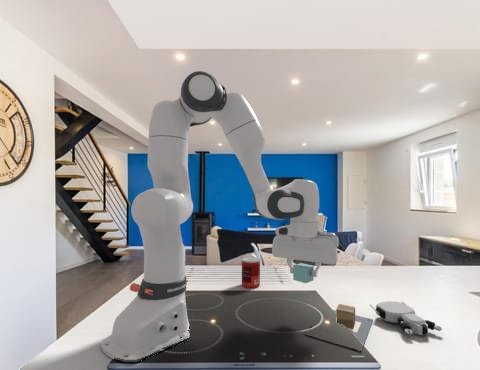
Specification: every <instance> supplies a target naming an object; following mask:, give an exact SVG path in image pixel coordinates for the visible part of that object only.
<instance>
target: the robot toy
mask: <svg viewBox="0 0 480 370" xmlns="http://www.w3.org/2000/svg"><path fill="white" fill-rule="evenodd" d="M369 306H370V307H371V308H372V309H373V311H375V314H376V315H377V316H379V318H380V317H381V319H383V321H385V322H388V323H393V324H399V325H400V328H401V330H402V332H403V333H405V334H408V335H409V334H410V335H419V336H423V335H428V333H429V330H431V331H434V330H435V331H438V332H441V331H442V330H443V328H442V326H440V325H436V323H435V322H433V321H431V320H427V319H426V320H425V319H424V318H423V317H421V316H418V315H417V314H416V311H415V309H414V308H413V307H411V306H410V305H407V304H406V303H405V301H401V302H399V301H383V302H382V301H381V302H378V303H377V304H376V305H375V307H374V306H373V305H372V304H371V303H370V304H369Z"/></svg>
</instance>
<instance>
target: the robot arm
mask: <svg viewBox="0 0 480 370" xmlns="http://www.w3.org/2000/svg"><path fill="white" fill-rule="evenodd" d="M211 119H212V120H213V121H215V122H216V123H218V125H219V126H220V127H221V130H222V132H223V134H224V136H225V138H226V141H227V142H228V144H229V145H230V147H231V149H232V151H233V152H234V155H235V157H236V159H238V162H239V164H240V165H241V167H242V169H243V172H244V175H245V177H246V179H247V181H248V184H249V186H250V189H251V190H252V195H253V205H254V209H255V210H254V211H256V213H257V215H258V216H259V217H262V218H264V219H270V220H271V219H272V220H277V221H284V220H288V219H290V220H289V221H290V222H289V224H285V225H283V226H279V227H277V228H275V231H274V232H275V236H274V237H273V240H272V246H271V254H272V256H273V257H274V258H279V259H280V258H281V259H286V263H287V265H288V268H289V273H290V274H293V266H294V264H293V261H294V260H295V261H302V262H303V261H304V262H310V263H314V264H315V265H314V266H315V267H316V268H315V269H314V270H312V271H311V273H312V274H311V276H312V277H314V278H317V277H318V270H319V269H320V268H321V266H322V264H324V265H326V264H327V265H336V264H337V263H338V261H339V253H338V247H339V245H340V237H338V235H336V234H335V233H334V232H327V231H319V229H320V225H319V224H320V222H319V221H320V220H319V215H318V213H319V210H320V195H319V194H320V192H319V188H318V184H317V183H316V182H315V181H313V180H310V179H305V178H295V179H293V180H292V181H291V182H289V183H287V184H286V185H283V186H280V187H278V188H274V187H272V186H271V184H270V182H269V180H268V177H267V175H266V172H265V170H264V167H263V164H262V153H263V149H264V147H265V144H266V138H265V134H264V130H263V127H262V125H261V123H260V121H259V119H258V117H257V115H256V113H255V112H254V110H253V108H252V106H251V105H250V104H249V102H248V101H247V99H246V98H245V96H244V95H243V94H242V93H240V92H238V91H233V92H228V91H227V89H226V87H225V86H223V85H222V84H221V83H220V82H219V81H218V80H217V79H216V78H215V77H214V76H213V75H212V74H210V73H208V72H206V71H202V70H201V71H200V70H199V71H197V70H196V71H193V72H191V73H190V74H188V75H187V77H185V79H184V80H183V82H182V84H181V87H180V95H179V98H177V99H176V100H163V101H159V102H157V103H156V104H155V105H154V107H153V109H152V112H151V117H150V121H149V127H148V142H147V144H148V145H147V169H148V171H149V173H150V175H151V178H152V179H151V180H152V184H153V188H149V189H147V190H145V191H142V192H141V193H139V194H137V196H135V197H134V199H133V201H132V205H131V211H130V212H131V216H132V219H133V221H134V222H135V224H136V225H137V226H138V229H139V233H140V236H141V239H142V240H141V241H142V245H143V278H142V280H141V282H140V284H139V283H135V282H131V284H130V285H129V290H130V291H131V292H134V293H137V294H136V296H135V297H134V299H132V301H131V302H130V303H128V305H127V306H126V307H125V308H124V309H123V310H122V311H121V312H120V313H119V314H118V315H117V316H116V317H115V320H114V322H113V326H112V331H111V334H110V335H109V336H107V337H105V338H104V339H102V341H101V345H100V349H101V350H102V352H103V353H104V354H105V355H106V356H107V357H109V358H110V359H113V360H114V358H120V359H124V360H137V359H140V358H142V357H145V356H148V355H150V354H152V353H154V352H156V351H158V350H160V349H162V348H164V347H167V346H169V345H172V344H175V343H178V342H180V341H183V340H184V339H187V338H189V337H191V336H190V329H189V326H190V327H191V325H190V322H189V318H188V317H189V316H188V310H187V302H186V291H187V275H186V247H185V244H184V243H183V237H182V231H181V224H183V223H185V222H187V220H188V219H189V218H190V217H191V215H192V214H193V211H194V203H193V200H192V194H191V184H190V176H189V167H188V166H189V165H188V164H189V134H190V133H189V131H190V128H191V127H194V126H200V125H205V124H206V123H208V122H209V121H211ZM188 330H189V331H188ZM180 337H182V338H180ZM125 356H128V357H125Z"/></svg>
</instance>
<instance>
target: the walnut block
mask: <svg viewBox="0 0 480 370" xmlns="http://www.w3.org/2000/svg"><path fill="white" fill-rule="evenodd" d="M335 310H336V323H339V324H343V325H345V326H346V327H347V328H351V329H354V326H355V315H356V307H355V306H352V305H346V304H342V303H338V305H337V307H336V309H335Z"/></svg>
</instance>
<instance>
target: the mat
mask: <svg viewBox="0 0 480 370" xmlns="http://www.w3.org/2000/svg"><path fill="white" fill-rule="evenodd" d="M332 310H333V312H334V313H335V314H336V309H335V310H334V309H332ZM373 323H374V319H373V318H368V317H364V316H360V315H356V314H355V326H354V329H351V328H348V329H349V330H350V331H351V332H352V333H353V334H354V335H355V336H356V337H357V339H358V340H359V341H360V342H361V343H362V344H363V345H364V346H365V344H366V340H367V338H368V335H369V334H370V330H371V327H372V324H373Z"/></svg>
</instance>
